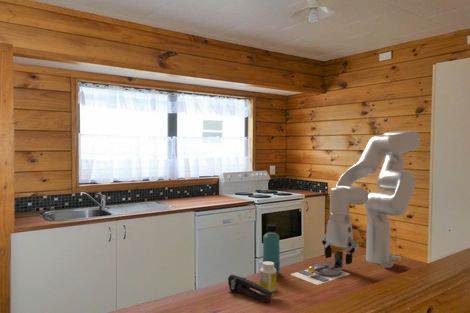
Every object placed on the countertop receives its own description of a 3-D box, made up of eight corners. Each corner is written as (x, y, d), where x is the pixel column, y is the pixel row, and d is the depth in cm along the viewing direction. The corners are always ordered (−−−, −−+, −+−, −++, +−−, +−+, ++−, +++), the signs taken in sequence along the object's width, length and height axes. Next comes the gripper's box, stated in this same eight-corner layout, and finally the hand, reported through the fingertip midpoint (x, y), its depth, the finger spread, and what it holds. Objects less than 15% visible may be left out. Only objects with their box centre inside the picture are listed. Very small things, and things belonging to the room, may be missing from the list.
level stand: (323, 268, 144) (323, 263, 144) (350, 277, 134) (350, 272, 134) (289, 278, 132) (289, 273, 132) (316, 289, 122) (317, 283, 122)
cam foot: (330, 263, 145) (330, 247, 145) (352, 271, 136) (353, 254, 136) (298, 272, 134) (298, 254, 134) (320, 280, 125) (321, 262, 125)
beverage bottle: (278, 280, 129) (279, 227, 129) (261, 279, 131) (262, 225, 131) (280, 274, 136) (281, 223, 136) (263, 273, 137) (264, 222, 137)
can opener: (222, 291, 119) (223, 274, 119) (236, 285, 124) (237, 269, 124) (263, 307, 107) (263, 289, 107) (276, 300, 112) (277, 283, 112)
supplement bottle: (275, 290, 120) (275, 260, 120) (276, 296, 115) (277, 265, 115) (259, 289, 120) (259, 260, 120) (260, 296, 115) (260, 265, 115)
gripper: (364, 220, 135) (363, 264, 135) (327, 213, 149) (326, 253, 149) (352, 222, 131) (351, 268, 131) (316, 215, 144) (315, 256, 144)
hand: (338, 260), depth 140 cm, fingers open, 9 cm apart
